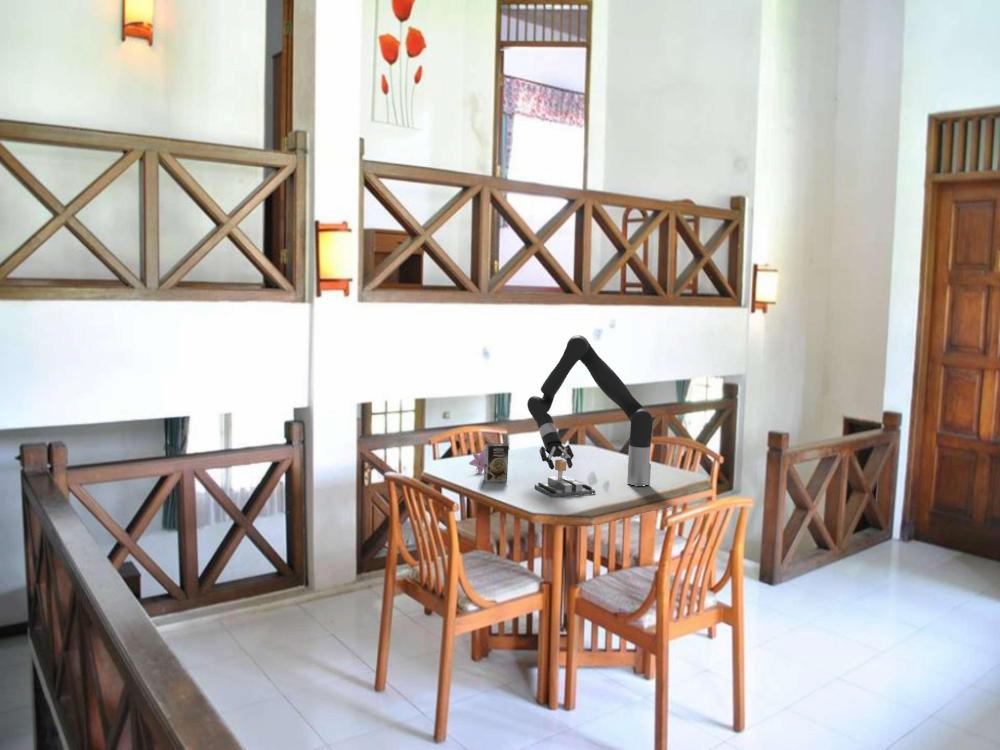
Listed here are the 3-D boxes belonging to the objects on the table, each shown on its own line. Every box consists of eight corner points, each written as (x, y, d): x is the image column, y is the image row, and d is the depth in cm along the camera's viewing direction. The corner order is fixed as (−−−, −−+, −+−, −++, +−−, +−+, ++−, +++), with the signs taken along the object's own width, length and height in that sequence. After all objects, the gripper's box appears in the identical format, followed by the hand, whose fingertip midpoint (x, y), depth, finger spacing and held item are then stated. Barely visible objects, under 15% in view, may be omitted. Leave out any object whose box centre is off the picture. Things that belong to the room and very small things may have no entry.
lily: (464, 476, 369) (471, 459, 365) (464, 460, 379) (472, 444, 375) (489, 484, 371) (497, 468, 367) (489, 468, 381) (496, 452, 377)
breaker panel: (575, 484, 356) (576, 474, 356) (595, 493, 342) (595, 483, 341) (534, 488, 348) (534, 477, 347) (552, 497, 333) (553, 486, 333)
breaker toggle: (560, 482, 351) (561, 459, 350) (565, 484, 347) (566, 461, 346) (554, 483, 349) (555, 459, 348) (558, 485, 346) (559, 461, 345)
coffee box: (487, 482, 354) (488, 445, 352) (483, 479, 360) (484, 442, 358) (507, 482, 356) (509, 445, 354) (503, 478, 362) (505, 442, 360)
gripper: (538, 431, 350) (550, 464, 341) (567, 430, 356) (580, 462, 347) (532, 441, 355) (543, 473, 346) (561, 440, 361) (573, 471, 352)
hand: (561, 467), depth 346 cm, fingers open, 8 cm apart
